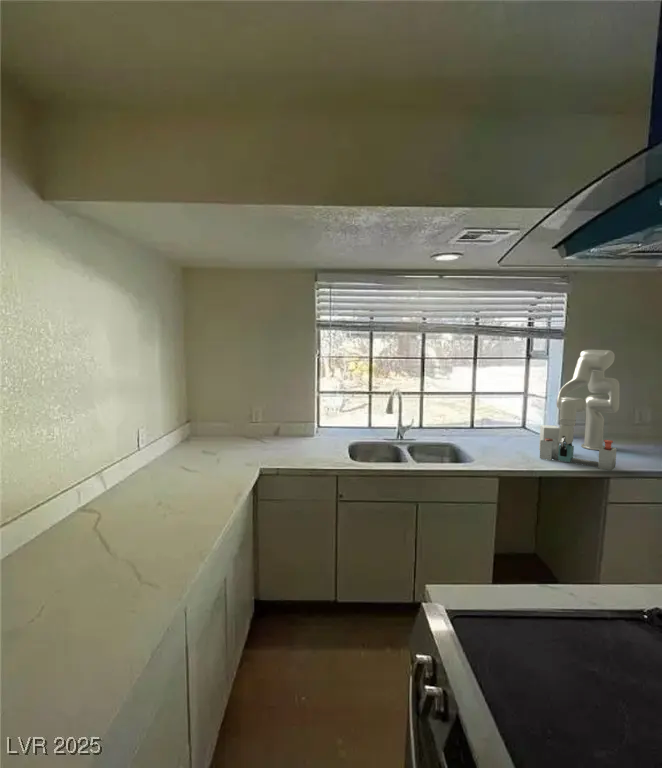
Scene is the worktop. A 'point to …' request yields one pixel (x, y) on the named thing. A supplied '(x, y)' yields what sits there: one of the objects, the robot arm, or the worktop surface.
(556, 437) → the supplement box
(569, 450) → the carriage
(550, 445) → the cabinet
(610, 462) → the cabinet
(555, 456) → the rail
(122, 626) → the worktop surface
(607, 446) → the knob
